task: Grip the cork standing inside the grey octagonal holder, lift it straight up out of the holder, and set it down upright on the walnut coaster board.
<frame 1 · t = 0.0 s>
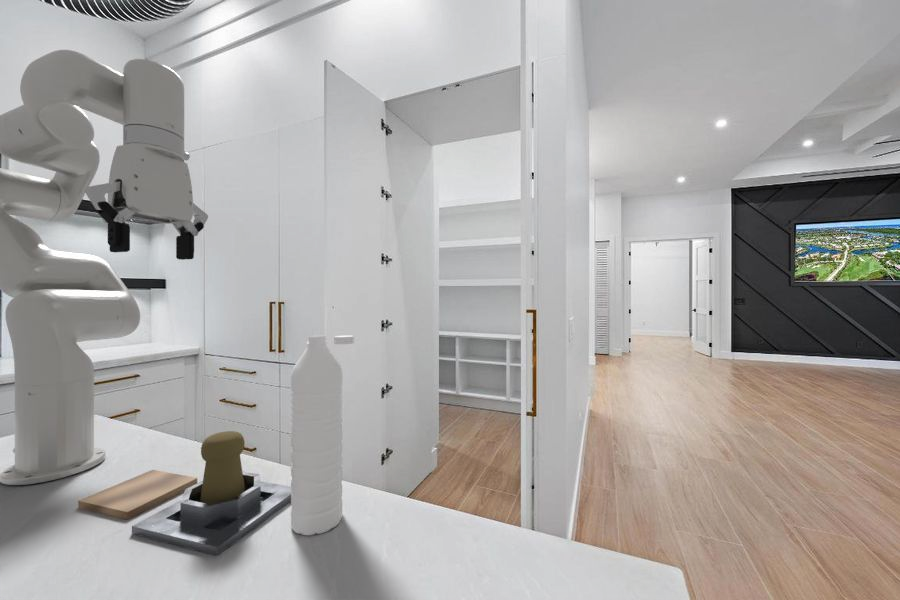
hand: (154, 255, 58), 37 cm above the table, tool pointing down, fingers open, 9 cm apart
grey octagonal holder: (223, 512, 51), on the table
coaster board: (141, 495, 56), on the table
water bottle: (324, 524, 49), on the table
cork: (223, 514, 51), resting in grey octagonal holder
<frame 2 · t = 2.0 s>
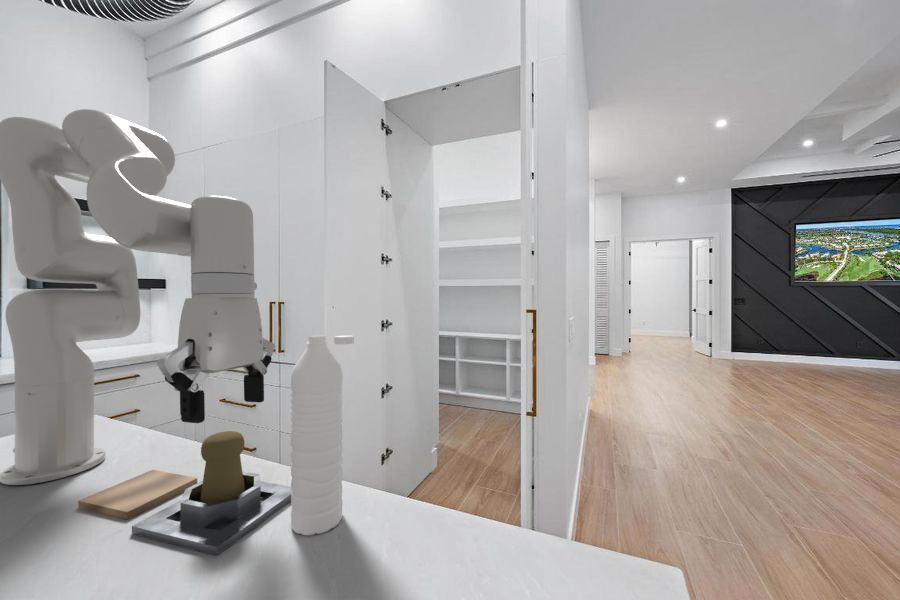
hand: (226, 410, 51), 14 cm above the table, tool pointing down, fingers open, 9 cm apart
nothing on the table moved.
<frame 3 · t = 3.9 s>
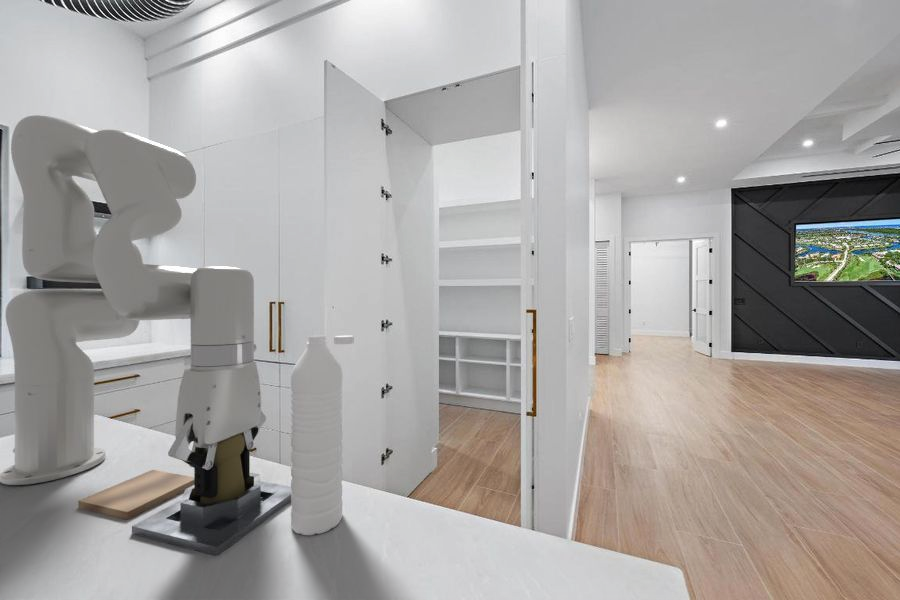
hand: (223, 484, 51), 4 cm above the table, tool pointing down, fingers closed on cork, 4 cm apart
cork: (223, 514, 51), resting in grey octagonal holder, touching gripper
everything else where it was.
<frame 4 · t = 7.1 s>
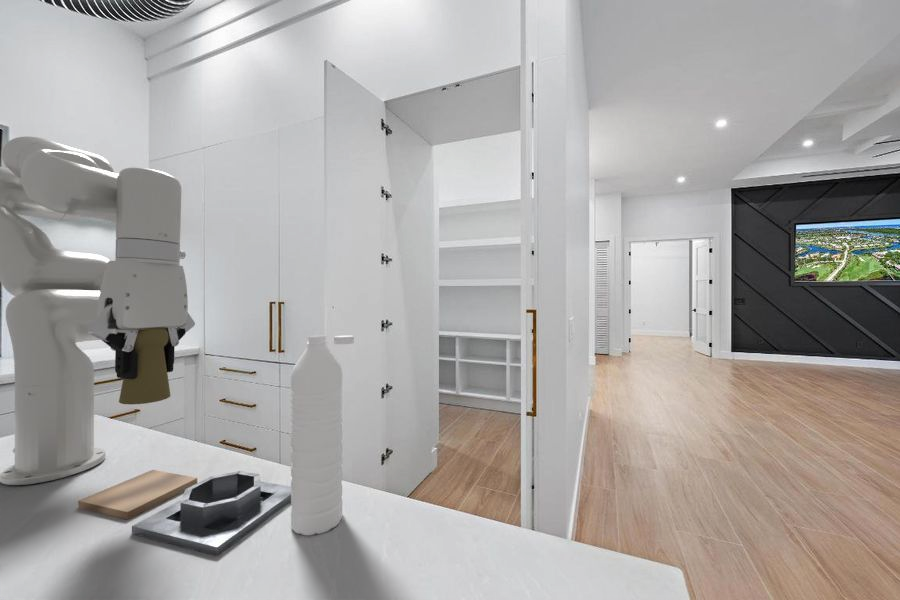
hand: (146, 373, 56), 19 cm above the table, tool pointing down, fingers closed on cork, 4 cm apart
cork: (145, 399, 56), point 15 cm above the table, touching gripper
everything else where it was.
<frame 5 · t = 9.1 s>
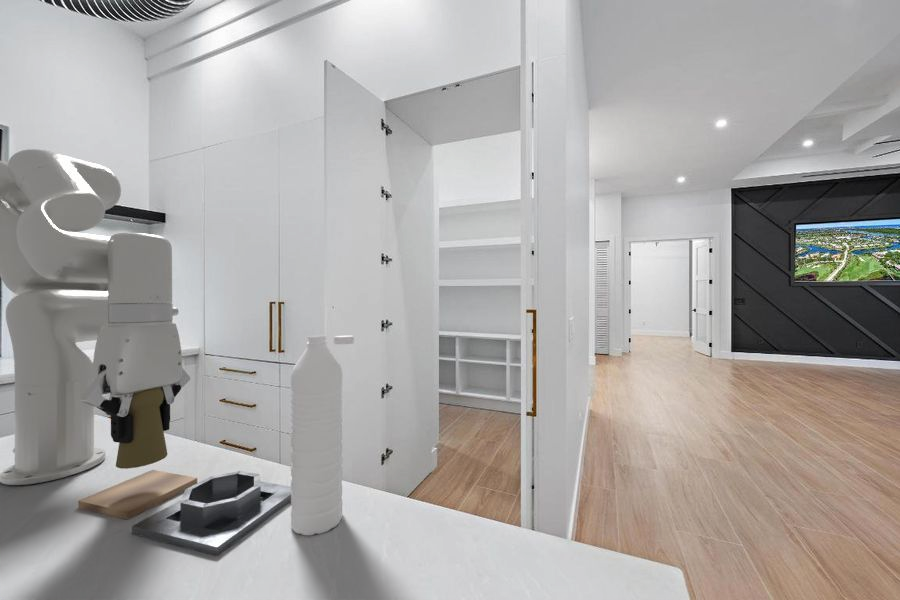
hand: (142, 434, 56), 9 cm above the table, tool pointing down, fingers closed on cork, 4 cm apart
cork: (142, 460, 56), point 5 cm above the table, touching gripper
everything else where it was.
when the fingers open (6 cm above the table, at t = 10.5 s): cork drops 1 cm, resting on coaster board.
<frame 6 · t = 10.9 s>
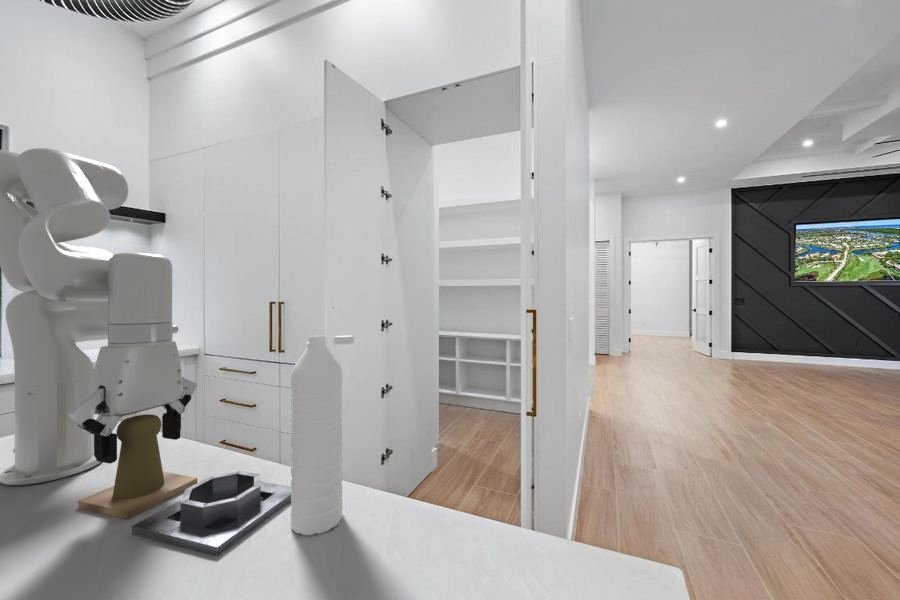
hand: (141, 448, 56), 7 cm above the table, tool pointing down, fingers open, 8 cm apart
cork: (139, 490, 56), point 1 cm above the table, touching coaster board
everything else where it was.
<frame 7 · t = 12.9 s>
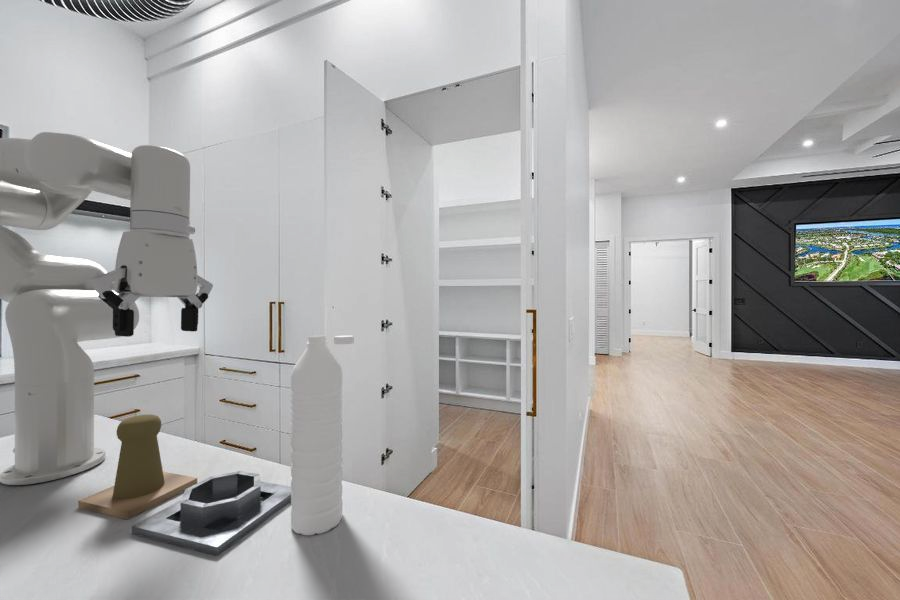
hand: (159, 333, 59), 24 cm above the table, tool pointing down, fingers open, 9 cm apart
nothing on the table moved.
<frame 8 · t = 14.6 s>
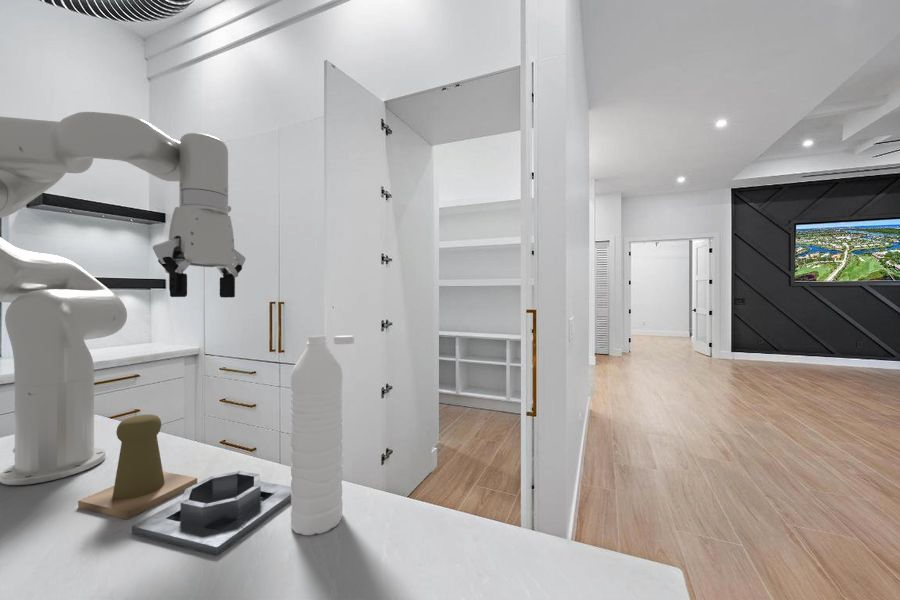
hand: (204, 297, 68), 30 cm above the table, tool pointing down, fingers open, 9 cm apart
nothing on the table moved.
at the end: cork 0.2 cm off-centre on the coaster board, point 0.8 cm above the coaster board's base; cork tilted 0°; the gripper is holding nothing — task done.
